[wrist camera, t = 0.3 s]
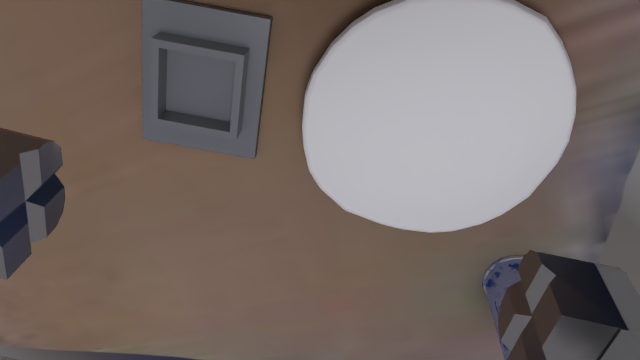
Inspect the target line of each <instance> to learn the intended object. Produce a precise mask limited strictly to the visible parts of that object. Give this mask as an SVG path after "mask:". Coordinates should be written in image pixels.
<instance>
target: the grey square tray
mask: <svg viewBox="0 0 640 360" xmlns="http://www.w3.org/2000/svg"><path fill="white" fill-rule="evenodd" d="M271 25H272V17H270V16H265V15H259V14H254V13H248V12H243V11H238V10H232V9H227V8H222V7H216V6H211V5H206V4H200V3H195V2H190V1H184V0H143V139H148V140H153V141H158V142H164V143H169V144H175V145H180V146H185V147H191V148H196V149H202V150H207V151H212V152H218V153H223V154H228V155H234V156H239V157H245V158H250V159H255V157H256V153H257V145H258V136H259V128H260V119H261V111H262V102H263V94H264V85H265V76H266V68H267V59H268V51H269V42H270V34H271Z"/></svg>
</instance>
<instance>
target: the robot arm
mask: <svg viewBox="0 0 640 360" xmlns="http://www.w3.org/2000/svg"><path fill="white" fill-rule="evenodd" d="M62 165H63V162H62V154H61V147H60V146H59V145H58V144H57V143H56V142H55V141H52V140H48V139H44V138H40V137H36V136H32V135H28V134H24V133H20V132H15V131H11V130H7V129H3V128H0V279H5V280H7V279H8V278H9V277H10V276H11V275H12V274H13V273H14V272H15V271H16V270H17V269H18V268H19V267H20V265H21V264H22V263H23V262H24V261H25V260H26V259H27V258H28V257H29V256H30V255H31V245H30V243H33V242H35V241H38V240H41V239H44V238H46V237H48V235H49V234H50V233H51V232H52V231H53V230H54V229H55V227H56V226H57V224H58V222H59V219H60V217H61V215H62V213H63V209H64V202H65V189H64V185H63V184H62V183H61V181H60V180H59V179H58V177H57V176H56V175H55V173H56V172H57V171H58V170H59V168H60V167H61V166H62ZM518 271H519V274H520V278H521V280H520V281H518V282H517V283H515V284H513V285H511V286H509V287H508V288H507V290H506V292H505V295H504V297H503V299H502V301H501V305H500V310H499V315H498V330H499V334H500V339H501V341H502V343H503V344H504V345H505V346H506V347H507V348H508V349H509V350H510V351H511V353H510V354H509V356H508V358H507V360H640V296H639V294H638V292H637V291H636V289H635V287H634V285H633V284H632V282H631V280H630V279H629V277H628V275H627V273H626V272H624V271H623V270H622V269H620V268H618V267H613V266H608V265H603V264H598V263H592V262H585V261H580V260H576V259H571V258H566V257H561V256H556V255H551V254H546V253H542V252H537V251H532V250H530V251H529V252H528V253H527V254H526V255H525V256H524V257H523V259H522V261H521V263H520V265H519V266H518ZM0 360H17V359H12V358H8V357H4V356H0Z"/></svg>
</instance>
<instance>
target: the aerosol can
mask: <svg viewBox="0 0 640 360" xmlns="http://www.w3.org/2000/svg"><path fill="white" fill-rule="evenodd" d="M523 257H524V256H522V255H517V256H508V257H505V258H501V259H499V260H498V261H496V262H494V263H492V265H491V266H490V267H489V268H488V269H487V270H486V272H485V274H484V276H483V288H484V290H485V293H486V295H487V297H488V301H489V304H490V308H491V311H492V315H493V319H494V322H495V326H496V330H497V333H498V337H499V340H500V344H501V348H502V351H503V355H504V359H505V360H507V358H508V356H509V354H510V353H511V351H510V350H509V349H508V348H507V347H506V346H505V345H504V344H503V343H502V341H501V339H500V334H499V330H498V315H499V310H500V305H501V301H502V299H503V297H504V295H505V292H506V290H507V288H508V287H509V286H511V285H513V284H515V283H517V282H518V281H520V280H521V278H520V274H519V271H518V266H519V265H520V263H521V261H522V259H523Z"/></svg>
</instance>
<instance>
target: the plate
mask: <svg viewBox="0 0 640 360" xmlns="http://www.w3.org/2000/svg"><path fill="white" fill-rule="evenodd" d="M575 114H576V84H575V79H574V75H573V70H572V65H571V61H570V59H569V57H568V54H567V52H566V49H565V47H564V45H563V42H562V40H561V38H560V37H559V35H558V34H557V32H556V31H555V29H554V28H553V26H552V25H551V23H550V22H549V20H548V19H547V17H546V16H544V15H542V14H540V13H538V12H536V11H534V10H533V9H531V8H529V7H527V6H525V5H523V4H521V3H519V2H517V1H515V0H393V1H390V2H388V3H385V4H382V5H380V6H377V7H375V8H373V9H372V10H370V11H368V12H367V13H365V14H364V15H362V16H361V17H359V18H358V19H356V20H354V21H353V22H352V23H351V24H350V25H349V26H348V27H347V28H346V29H345V30H344V31H343V32H342V33H341V34H340V35H339V36H338V37H336V38H335V39H334V40H333V41H332V43H331V44H330V46H329V47H328V49H327V50H326V52H325V53H324V55H323V56H322V58H321V59H320V61H319V62H318V64H317V65H316V67H315V68H314V70H313V71H312V74H311V77H310V80H309V82H308V85H307V88H306V91H305V95H304V106H303V116H302V133H303V146H304V151H305V155H306V159H307V164H308V168H309V171H310V173H311V174H312V176H313V178H314V179H315V181H316V182H317V184H318V186H319V187H320V188H321V189H322V190H323V191H324V192H325V193H326V194H327V195H328V196H329V197H331V198H332V199H333V200H334V201H335V202H336V203H337V204H338V205H340V206H341V207H342V208H343V209H344V210H345V211H348V212H351V213H353V214H356V215H359V216H361V217H364V218H366V219H369V220H372V221H374V222H377V223H379V224H383V225H387V226H391V227H395V228H399V229H405V230H414V231H422V232H430V233H432V232H447V231H455V230H459V229H463V228H467V227H471V226H475V225H480V224H482V223H484V222H487V221H489V220H491V219H493V218H496V217H498V216H500V215H502V214H504V213H505V212H507V211H508V210H510V209H511V208H513V207H514V206H516V205H517V204H519V203H520V202H522V201H523V200H525V199H526V198H528V197H529V196H530V195H531V194H532V193H533V191H534V190H535V189H536V188H537V187H538V185H539V184H540V183H541V182H542V181H543V180H544V178H545V177H546V176H547V175H548V174H549V172H550V171H551V170H552V169H553V168H554V167H555V165H556V164H557V163H558V161H559V159H560V158H561V156H562V154H563V152H564V150H565V148H566V146H567V144H568V142H569V139H570V135H571V131H572V127H573V123H574V119H575Z"/></svg>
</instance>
